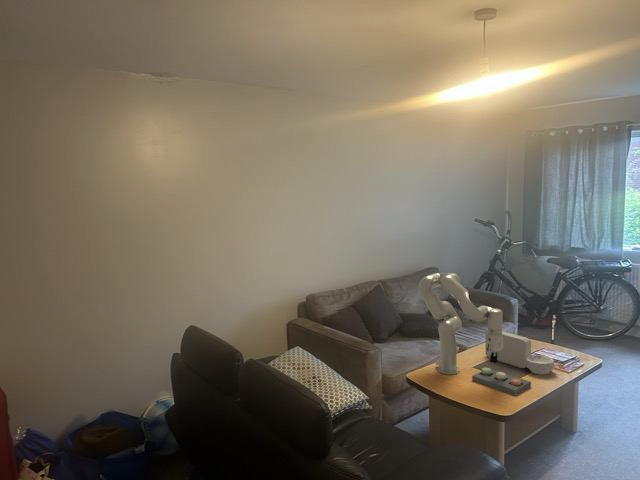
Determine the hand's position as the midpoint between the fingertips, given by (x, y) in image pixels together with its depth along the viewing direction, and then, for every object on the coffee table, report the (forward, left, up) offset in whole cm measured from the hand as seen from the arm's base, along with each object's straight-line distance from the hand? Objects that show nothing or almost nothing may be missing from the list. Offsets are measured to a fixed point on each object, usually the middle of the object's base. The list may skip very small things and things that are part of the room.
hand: (493, 362), depth 258 cm
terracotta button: (+13, 0, -9) cm, 16 cm away
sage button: (-5, 0, -8) cm, 9 cm away
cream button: (+4, 0, -8) cm, 9 cm away
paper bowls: (+10, +31, -12) cm, 35 cm away
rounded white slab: (-11, +32, -12) cm, 36 cm away
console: (+4, 0, -11) cm, 12 cm away
